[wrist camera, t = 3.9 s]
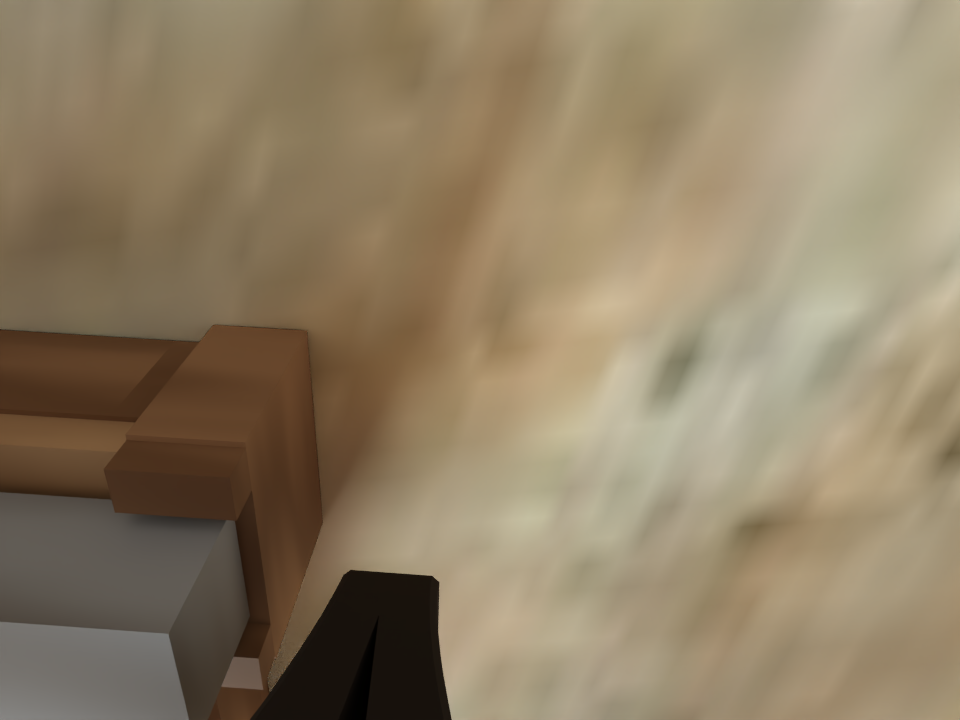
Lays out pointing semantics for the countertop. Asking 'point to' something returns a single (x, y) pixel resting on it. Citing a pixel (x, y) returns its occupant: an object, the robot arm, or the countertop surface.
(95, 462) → the lid
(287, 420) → the long low wooden box
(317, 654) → the robot arm
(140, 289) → the countertop surface
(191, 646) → the gray rectangular box
